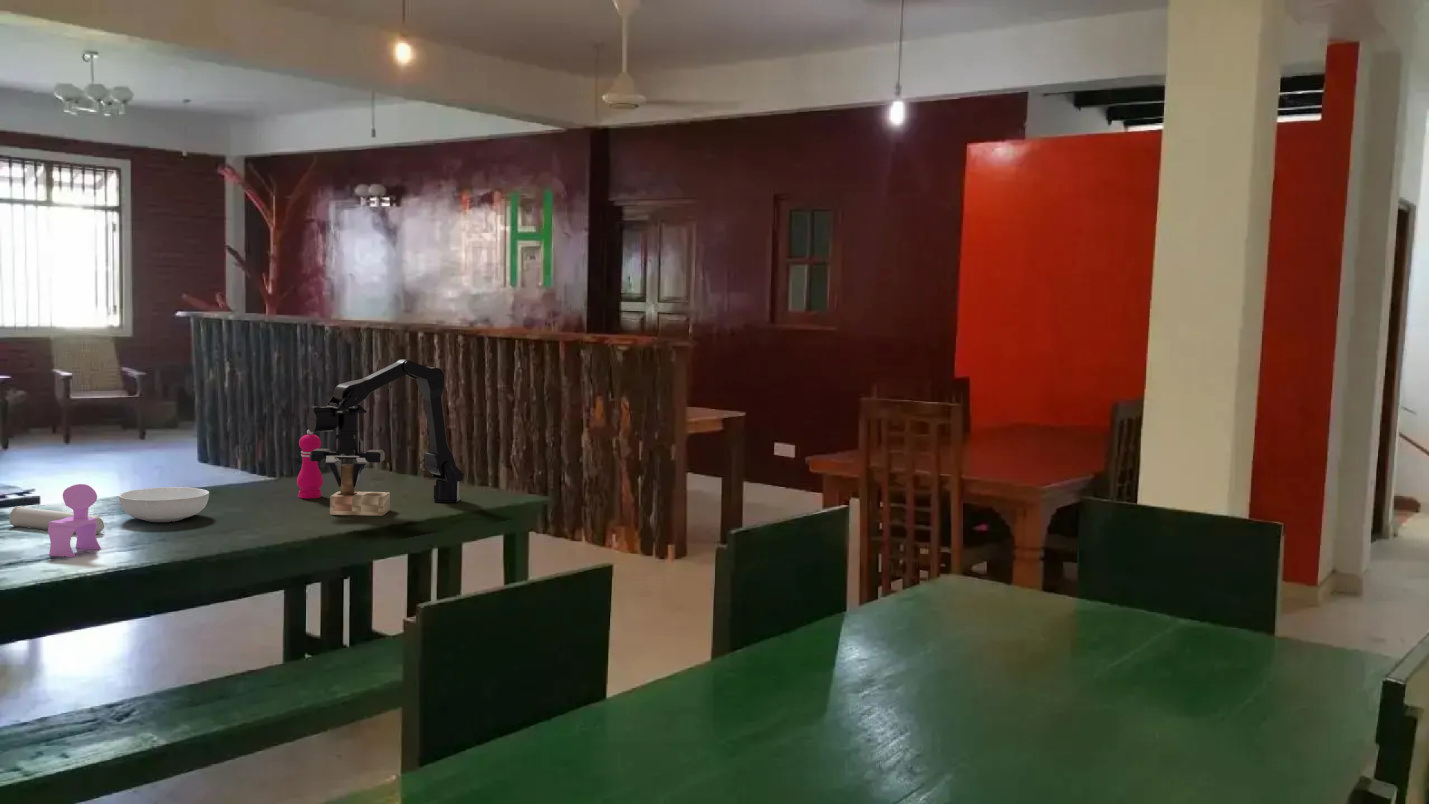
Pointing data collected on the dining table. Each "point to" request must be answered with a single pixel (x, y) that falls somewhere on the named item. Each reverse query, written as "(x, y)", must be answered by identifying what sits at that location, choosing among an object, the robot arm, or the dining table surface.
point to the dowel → (347, 480)
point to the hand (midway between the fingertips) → (347, 486)
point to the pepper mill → (309, 468)
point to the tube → (42, 518)
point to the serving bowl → (163, 503)
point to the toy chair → (74, 522)
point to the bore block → (360, 503)
